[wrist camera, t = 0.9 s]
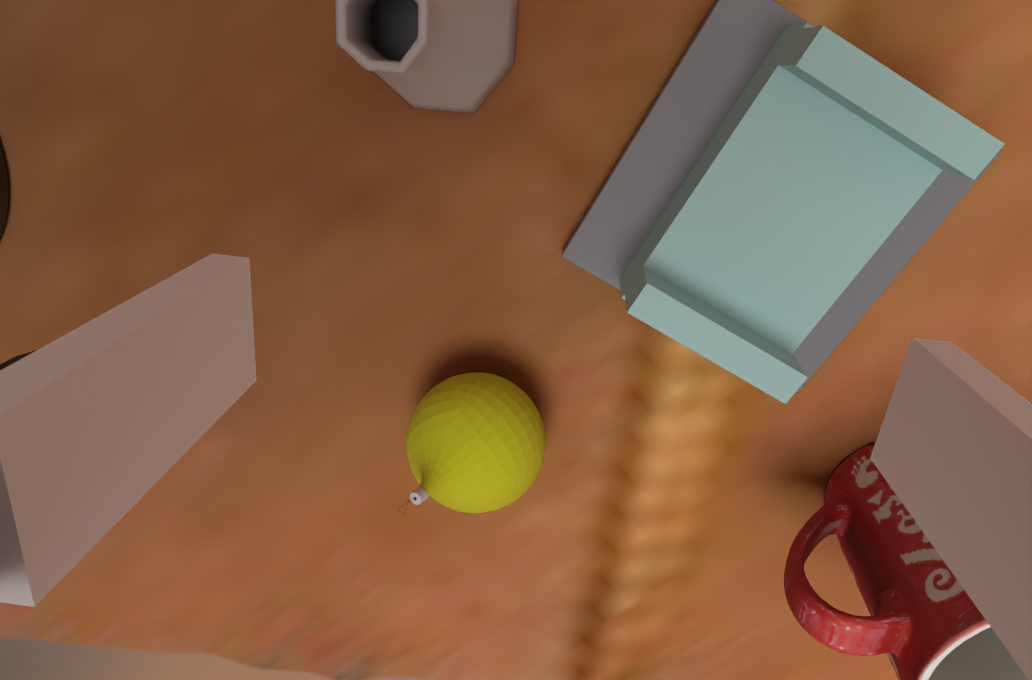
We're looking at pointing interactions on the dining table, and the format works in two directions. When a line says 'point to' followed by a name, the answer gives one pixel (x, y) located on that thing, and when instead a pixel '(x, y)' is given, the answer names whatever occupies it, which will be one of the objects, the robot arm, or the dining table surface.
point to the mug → (892, 587)
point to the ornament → (474, 443)
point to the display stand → (774, 193)
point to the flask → (432, 47)
